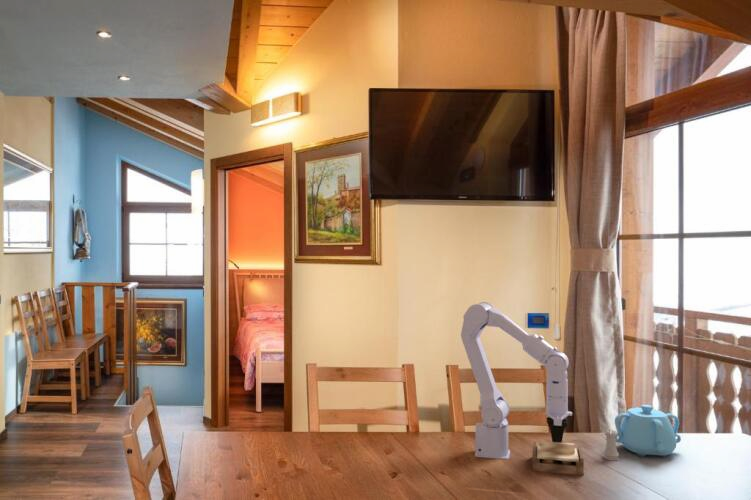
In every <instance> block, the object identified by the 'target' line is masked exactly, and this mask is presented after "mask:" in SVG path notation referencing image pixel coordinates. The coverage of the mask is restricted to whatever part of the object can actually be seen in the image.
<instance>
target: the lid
mask: <svg viewBox="0 0 751 500" xmlns="http://www.w3.org/2000/svg"><path fill="white" fill-rule="evenodd" d="M539 443H540V445H539V444H536V446H537V458H539V459H551V460H563V461H575V462H579V458H578V453H577V449H578V447H577V448H576V447H575V445H576V444H575V443H569V442H562V443H559V442H552V441H542V440H541V441H539Z"/></svg>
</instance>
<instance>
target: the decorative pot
mask: <svg viewBox="0 0 751 500" xmlns="http://www.w3.org/2000/svg"><path fill="white" fill-rule="evenodd" d="M670 418H673V419H674V426H672V423H671V421H670ZM620 419H622V420H621V422H620ZM614 424H615V425H614V426H615V428H616V434H617V436H616V437H615V439H616V443H618V444H622V446H623V447H624V448H625V449H626V450H629V451H630V452H633V453H635V454H636V455H637V457H645V456H658V457H663V458H664V457H668V455H671V454H673V452H674V451H675V449H676V448H677V444H678V443H680V442H681V440H682V438H681V436H680V434H678V431H679V426H680V419H679V418H678V416H676V415H675V414H673V413H668V412H667V413H665V412H663V411H662V410H658V409H656V408H655V409H654V406H652V405H650V404H642V405H640V407H637V406H635V407H632V408H628V409H627V410H626V412H622V413H619V414H617V415H616V416H615V418H614ZM617 437H618V438H617ZM676 437H677V438H676Z"/></svg>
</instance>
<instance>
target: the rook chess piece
mask: <svg viewBox="0 0 751 500" xmlns="http://www.w3.org/2000/svg"><path fill="white" fill-rule="evenodd" d="M605 431H606V432H605V433H604V435H605V436H606V438H605V440H606V445H605V448H604V450H603V452H602V458H603V459H605V460H607V461H608V460H609V461H618V460H620V457H619V456H620V454H619V452H618V450H617V445H616V443H617V442H616V439H615V437H616V436H617V434H616V433H617V430H614V429H612V430H611V429H606V430H605ZM617 437H618V436H617Z"/></svg>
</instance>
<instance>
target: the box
mask: <svg viewBox="0 0 751 500" xmlns="http://www.w3.org/2000/svg"><path fill="white" fill-rule="evenodd" d="M538 445H540V442H539V444H538ZM577 453H578V458H579V462H575V461H572V463H571V465H564V464H563V463H562V462H561V460H553V461H554V462H553V464H551V463H542V459H539V458H537V443H536V442H534V441H533V442H532V471H533V472H543V473H552V474H553V473H554V474H555V473H557V474H566V475H567V474H568V475H575V476H576V475H579V476H584V475H585V473H584V472H585V470H584V469H585V467H584V466H585V465H584V461H585V459H584V454H583V449H582V445H577Z"/></svg>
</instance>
